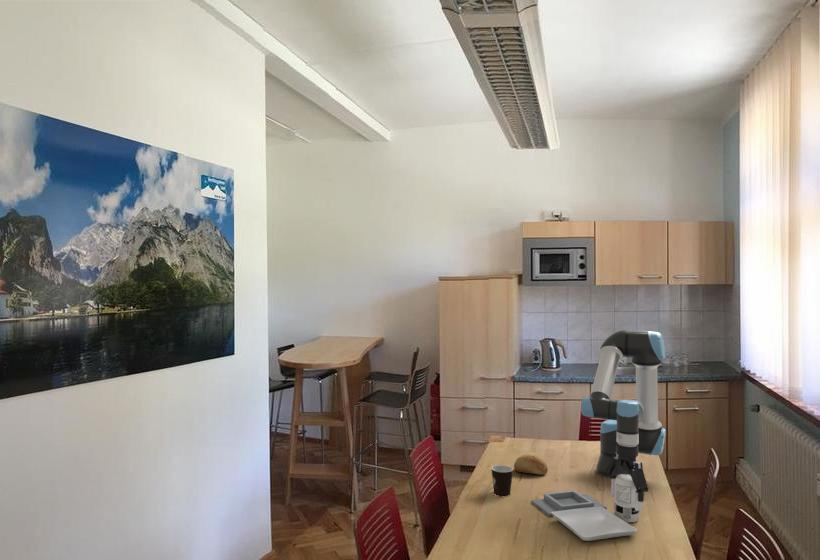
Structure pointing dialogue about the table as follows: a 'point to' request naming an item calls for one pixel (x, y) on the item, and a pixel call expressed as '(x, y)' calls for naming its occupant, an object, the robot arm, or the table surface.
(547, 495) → the dock
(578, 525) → the salad plate
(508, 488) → the coffee mug
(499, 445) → the table surface
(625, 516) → the supplement can
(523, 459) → the bread roll
